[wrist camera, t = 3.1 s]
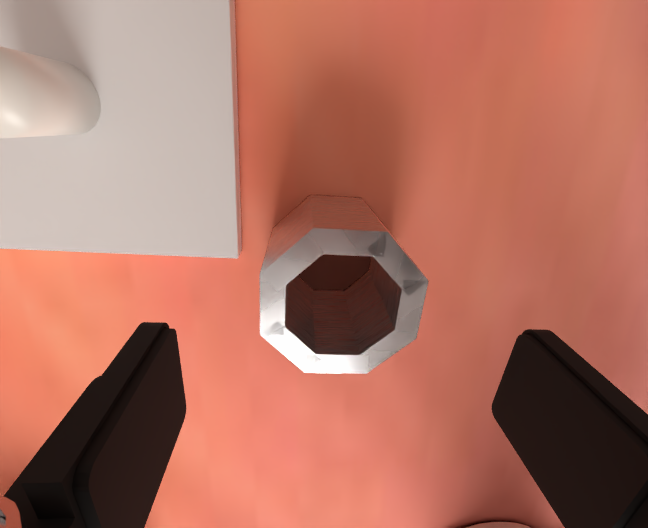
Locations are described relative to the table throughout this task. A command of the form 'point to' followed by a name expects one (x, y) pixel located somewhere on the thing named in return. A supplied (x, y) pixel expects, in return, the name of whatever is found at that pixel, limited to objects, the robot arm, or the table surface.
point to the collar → (333, 305)
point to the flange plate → (119, 127)
